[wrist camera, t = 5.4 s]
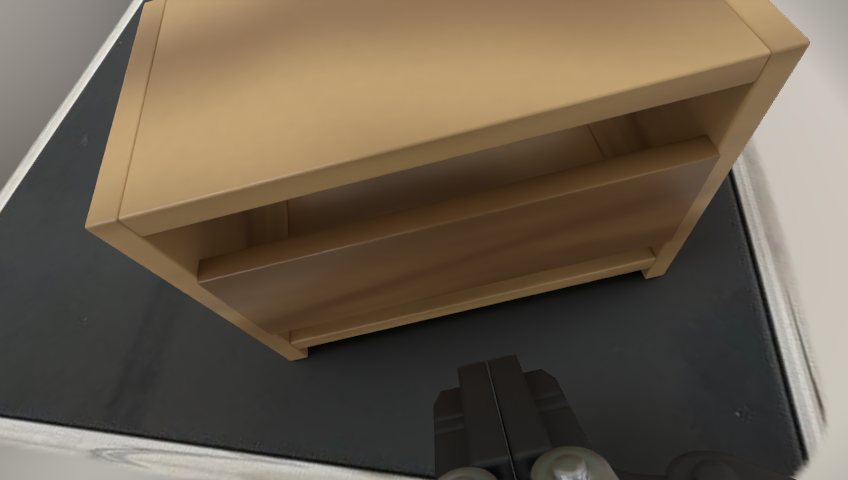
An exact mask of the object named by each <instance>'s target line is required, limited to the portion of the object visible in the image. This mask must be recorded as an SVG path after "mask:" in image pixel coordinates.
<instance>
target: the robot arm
mask: <svg viewBox="0 0 848 480" xmlns="http://www.w3.org/2000/svg"><path fill="white" fill-rule="evenodd" d="M487 361H488V365H489V369H490V373H491V378H492V382H493V386H494V390H495V394H496V398H497V403H498V407H499V411H500V415H501V419H502V423H503V427H504V431H505V435H506V439H507V443H508V447H509V451H510V455H511V459H512V462H513V466H514V470H515V474H516V478H517V480H795V479H793V478H790V477H787V476H784V475H782V474H779V473H776V472H774V471H771V470H768V469H766V468H763V467H760V466H758V465H755V464H752V463H750V462H747V461H744V460H741V459H739V458H736V457H733V456H730V455H727V454H724V453H719V452H714V451H693V452H689V453H685V454H682V455H680V456H678V457H676V458H675V459H674V460H673V461H672V462H671V463H670V464H669V466H668V467H667V470H666V476H655V475H640V474H632V473H627V472H623V471H620V470H617V469H615V468H613V467H611V466H610V465H609V464H608V463H607V461H606V460H605V459H604V458H603V457H602V456H601V455H599V454H597V453H596V452H594V451H593V450H592V448H591V446H590V444H589V442H588V440H587V438H586V436H585V434H584V433H583V431H582V429H581V427H580V425H579V423H578V421H577V419H576V417H575V415H574V413H573V411H572V409H571V407H570V406H569V404H568V402H567V400H566V398H565V396H564V395H563V392H562V390H561V388H560V386H559V384H558V382H557V380H556V379H555V378H554V377H552V376H551V375H549V374H548V373H546V372H545V371H543V370H542V369H540V370H535V371H531V372H526V373H523V372H522V370H521V367H520V365H519V362H518V360H517V357H516V355H515V354H513V355H509V356H504V357H500V358H495V359H491V360H487ZM458 376H459V384H460V387H459V388H454V389H450V390H445V391H441V393H440V395H439V397H438V398H437V400H436V402H435V404H434V422H435V423H434V433H435V435H434V439H435V477H436V480H515V479H514V475H513V471H512V467H511V462H510V458H509V454H508V450H507V446H506V442H505V438H504V435H503V431H502V427H501V423H500V419H499V415H498V411H497V407H496V403H495V399H494V395H493V391H492V387H491V383H490V379H489V375H488V371H487V367H486V363H485V361H483V362H478V363H474V364H469V365H465V366H460V367H458Z"/></svg>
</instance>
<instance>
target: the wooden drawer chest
mask: <svg viewBox="0 0 848 480" xmlns="http://www.w3.org/2000/svg"><path fill="white" fill-rule="evenodd" d="M809 44H810V41H809V40H808V38H807V37H806V36H805V35H804V34H803V33H802V32H800V30H798V28H796V27H795V26H794V25H793V24H792V23H791V22H790V21H789V20H788V19H787V18H786V17H785V16H784V15H783V14H782V13H781V12H780V11H779V10H778V9H777V8H776V7H775V6H774V5H773V4H772V3H771V2H770V1H769V0H153V1H150V2H146V3H145V4H144V7H143V11H142V14H141V18H140V22H139V26H138V29H137V33H136V37H135V41H134V44H133V48H132V52H131V56H130V59H129V63H128V67H127V71H126V74H125V78H124V82H123V86H122V89H121V93H120V97H119V101H118V104H117V108H116V112H115V116H114V120H113V123H112V127H111V131H110V135H109V138H108V142H107V146H106V150H105V153H104V157H103V161H102V165H101V168H100V172H99V176H98V180H97V183H96V187H95V191H94V195H93V198H92V202H91V206H90V210H89V213H88V217H87V221H86V225H85V228H86V229H87V230H88V231H90V232H91V233H93V234H94V235H96V236H97V237H99V238H100V239H102V240H104V241H105V242H107V243H108V244H110V245H111V246H113V247H114V248H116V249H118V250H119V251H121V252H122V253H124V254H125V255H127V256H128V257H130V258H132V259H133V260H135V261H136V262H138V263H139V264H141V265H142V266H144V267H146V268H147V269H149V270H150V271H152V272H153V273H155V274H156V275H158V276H160V277H161V278H163V279H164V280H166V281H167V282H169V283H170V284H172V285H174V286H175V287H177V288H178V289H180V290H181V291H183V292H184V293H186V294H187V295H189V296H191V297H192V298H194V299H195V300H197V301H198V302H200V303H201V304H203V305H205V306H206V307H208V308H209V309H211V310H212V311H214V312H215V313H217V314H219V315H220V316H222V317H223V318H225V319H226V320H228V321H229V322H231V323H233V324H234V325H236V326H237V327H239V328H240V329H242V330H243V331H245V332H247V333H248V334H250V335H251V336H253V337H254V338H256V339H257V340H259V341H261V342H262V343H264V344H265V345H267V346H268V347H270V348H271V349H273V350H274V351H276V352H278V353H279V354H281V355H282V356H284V357H285V358H287V359H288V360H290V361H293V360H297V359H302V358H306V357H307V356H308V352H307V347H310V346H314V345H319V344H323V343H327V342H332V341H336V340H340V339H345V338H349V337H353V336H358V335H362V334H366V333H371V332H375V331H379V330H383V329H388V328H392V327H396V326H401V325H405V324H409V323H414V322H418V321H422V320H427V319H431V318H435V317H439V316H444V315H448V314H452V313H457V312H461V311H465V310H470V309H474V308H478V307H483V306H487V305H491V304H495V303H500V302H504V301H508V300H513V299H517V298H521V297H526V296H530V295H534V294H539V293H543V292H547V291H552V290H556V289H560V288H564V287H569V286H573V285H577V284H582V283H586V282H590V281H595V280H599V279H603V278H608V277H612V276H616V275H620V274H625V273H629V272H633V271H638V270H641V271H642V273H643V275H644V277H645V279H648V278H652V277H657V276H661V275H664V273H665V272H666V270H667V269H668V267H669V266H670V264H671V262H672V261H673V259H674V258H675V256H676V255H677V253H678V251H679V250H680V248H681V247H682V245H683V244H684V242H685V240H686V239H687V237H688V236H689V234H690V232H691V231H692V229H693V228H694V226H695V225H696V223H697V221H698V220H699V218H700V217H701V215H702V214H703V212H704V210H705V209H706V207H707V206H708V204H709V202H710V201H711V199H712V198H713V196H714V195H715V193H716V191H717V190H718V188H719V187H720V185H721V184H722V182H723V180H724V179H725V177H726V176H727V174H728V172H729V171H730V169H731V168H732V166H733V165H734V163H735V161H736V160H737V158H738V157H739V155H740V154H741V152H742V150H743V149H744V147H745V146H746V144H747V143H748V141H749V139H750V138H751V136H752V135H753V133H754V131H755V130H756V128H757V127H758V125H759V124H760V122H761V120H762V119H763V117H764V116H765V114H766V113H767V111H768V109H769V108H770V106H771V105H772V103H773V101H774V100H775V98H776V97H777V95H778V94H779V92H780V90H781V89H782V87H783V86H784V84H785V83H786V81H787V79H788V78H789V76H790V75H791V73H792V71H793V70H794V68H795V67H796V65H797V63H798V62H799V60H800V59H801V57H802V56H803V54H804V53H805V51H806V49H807V48H808V46H809Z"/></svg>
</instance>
